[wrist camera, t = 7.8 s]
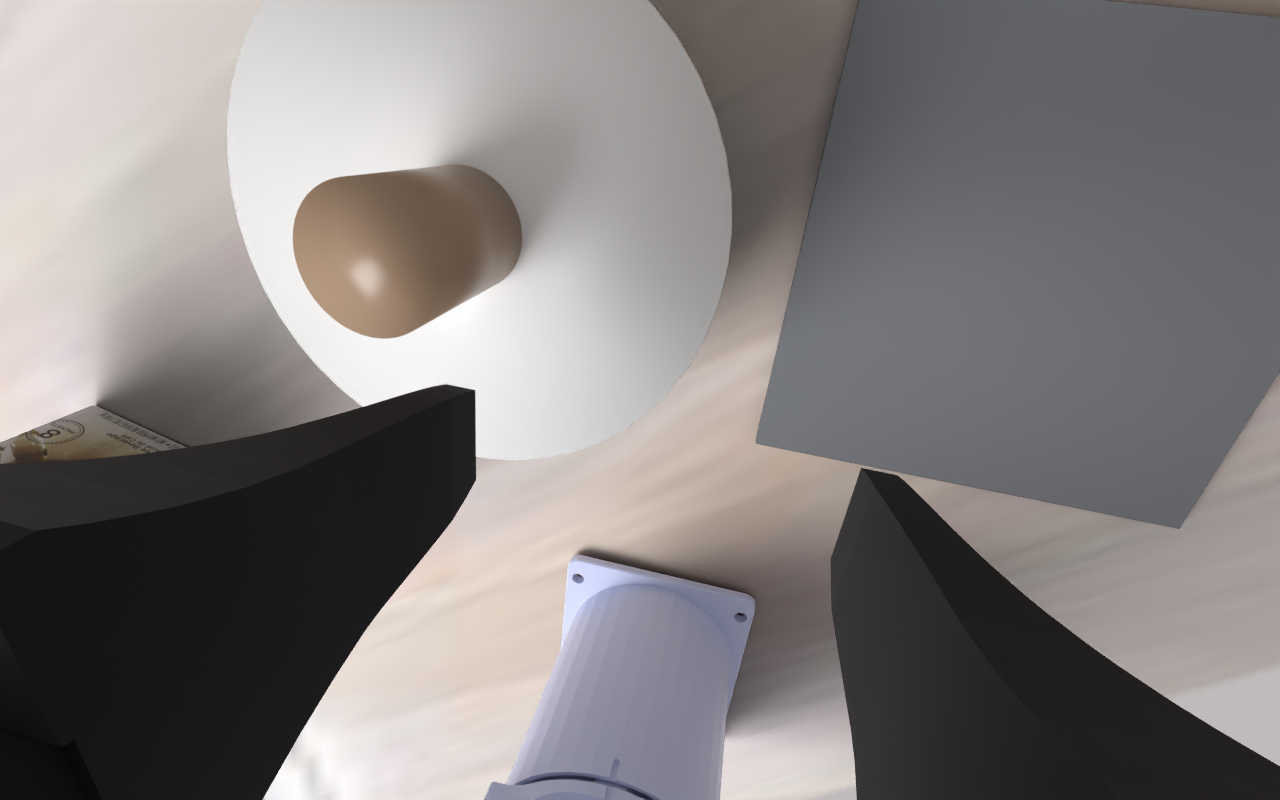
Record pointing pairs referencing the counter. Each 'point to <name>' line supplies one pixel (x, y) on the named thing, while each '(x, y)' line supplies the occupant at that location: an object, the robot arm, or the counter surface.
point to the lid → (484, 204)
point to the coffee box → (83, 439)
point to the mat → (1040, 251)
